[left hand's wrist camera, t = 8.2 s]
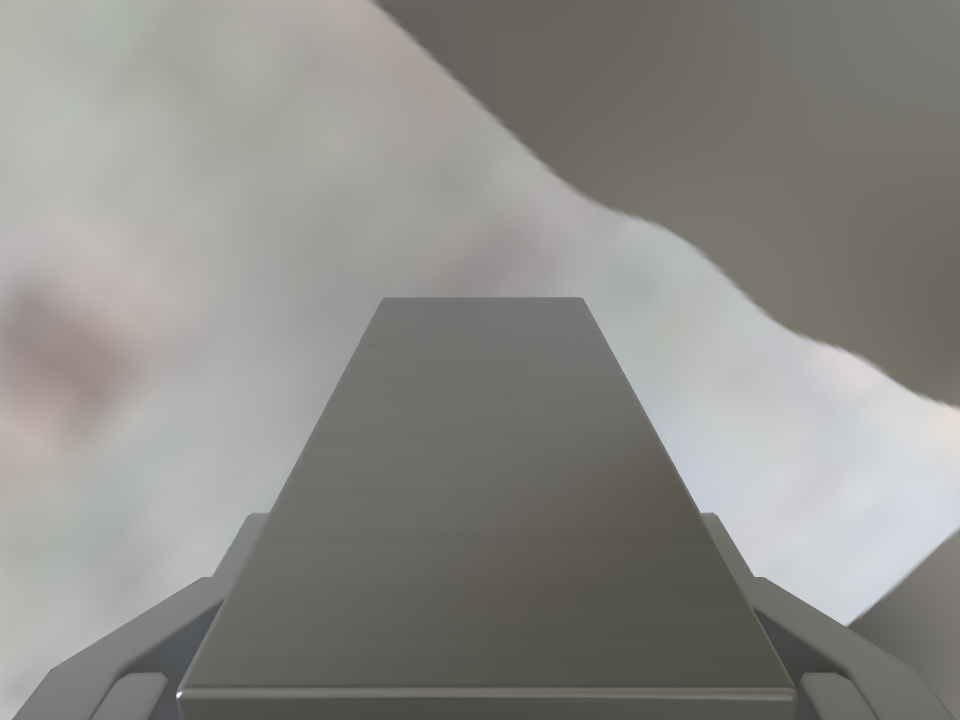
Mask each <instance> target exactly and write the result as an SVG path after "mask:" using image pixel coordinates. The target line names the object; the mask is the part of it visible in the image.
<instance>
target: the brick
mask: <svg viewBox="0 0 960 720" xmlns="http://www.w3.org/2000/svg"><path fill="white" fill-rule="evenodd" d="M176 701H177V706H178V710H179V714H180V718H181V720H793V718H794V714H795V710H796V706H797V702H798V694H797V690H796V687H795V685H794V683H793V681H792V679H791V677H790V676H789V674H788V672H787V670H786V668H785V666H784V665H783V663H782V661H781V659H780V657H779V656H778V654H777V652H776V650H775V648H774V646H773V645H772V643H771V641H770V639H769V637H768V635H767V634H766V632H765V630H764V628H763V626H762V624H761V623H760V621H759V619H758V617H757V615H756V614H755V612H754V610H753V608H752V606H751V604H750V603H749V601H748V599H747V597H746V595H745V593H744V592H743V590H742V588H741V586H740V584H739V583H738V581H737V579H736V577H735V575H734V573H733V572H732V570H731V568H730V566H729V564H728V562H727V561H726V559H725V557H724V555H723V553H722V551H721V550H720V548H719V546H718V544H717V542H716V541H715V539H714V537H713V535H712V533H711V531H710V530H709V528H708V526H707V524H706V522H705V520H704V519H703V517H702V515H701V513H700V511H699V509H698V508H697V506H696V504H695V502H694V500H693V499H692V497H691V495H690V493H689V491H688V489H687V488H686V486H685V484H684V482H683V480H682V478H681V477H680V475H679V473H678V471H677V469H676V468H675V466H674V464H673V462H672V460H671V458H670V457H669V455H668V453H667V451H666V449H665V447H664V446H663V444H662V442H661V440H660V438H659V436H658V435H657V433H656V431H655V429H654V427H653V426H652V424H651V422H650V420H649V418H648V416H647V415H646V413H645V411H644V409H643V407H642V405H641V404H640V402H639V400H638V398H637V396H636V394H635V393H634V391H633V389H632V387H631V385H630V384H629V382H628V380H627V378H626V376H625V374H624V373H623V371H622V369H621V367H620V365H619V363H618V362H617V360H616V358H615V356H614V354H613V353H612V351H611V349H610V347H609V345H608V343H607V342H606V340H605V338H604V336H603V334H602V332H601V331H600V329H599V327H598V325H597V323H596V321H595V320H594V318H593V316H592V314H591V312H590V311H589V309H588V307H587V305H586V303H585V301H584V300H583V299H582V298H383V299H382V301H381V302H380V304H379V306H378V308H377V310H376V312H375V314H374V316H373V318H372V320H371V321H370V323H369V325H368V327H367V329H366V331H365V333H364V335H363V337H362V339H361V341H360V342H359V344H358V346H357V348H356V350H355V352H354V354H353V356H352V358H351V360H350V361H349V363H348V365H347V367H346V369H345V371H344V373H343V375H342V377H341V379H340V380H339V382H338V384H337V386H336V388H335V390H334V392H333V394H332V396H331V398H330V399H329V401H328V403H327V405H326V407H325V409H324V411H323V413H322V415H321V417H320V418H319V420H318V422H317V424H316V426H315V428H314V430H313V432H312V434H311V436H310V437H309V439H308V441H307V443H306V445H305V447H304V449H303V451H302V453H301V455H300V456H299V458H298V460H297V462H296V464H295V466H294V468H293V470H292V472H291V474H290V475H289V477H288V479H287V481H286V483H285V485H284V487H283V489H282V491H281V493H280V494H279V496H278V498H277V500H276V502H275V504H274V506H273V508H272V510H271V512H270V513H269V515H268V517H267V519H266V521H265V523H264V525H263V527H262V529H261V531H260V532H259V534H258V536H257V538H256V540H255V542H254V544H253V546H252V548H251V550H250V551H249V553H248V555H247V557H246V559H245V561H244V563H243V565H242V567H241V569H240V570H239V572H238V574H237V576H236V578H235V580H234V582H233V584H232V586H231V588H230V590H229V591H228V593H227V595H226V597H225V599H224V601H223V603H222V605H221V607H220V609H219V610H218V612H217V614H216V616H215V618H214V620H213V622H212V624H211V626H210V628H209V629H208V631H207V633H206V635H205V637H204V639H203V641H202V643H201V645H200V647H199V648H198V650H197V652H196V654H195V656H194V658H193V660H192V662H191V664H190V666H189V667H188V669H187V671H186V673H185V675H184V677H183V679H182V681H181V683H180V685H179V687H178V690H177V694H176Z"/></svg>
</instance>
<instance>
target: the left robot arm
mask: <svg viewBox="0 0 960 720" xmlns="http://www.w3.org/2000/svg"><path fill="white" fill-rule="evenodd" d="M268 515H269V513H252V514H250V515H248V516H247V517H246V519H245V521H244V522H243V524H242V526H241V527H240V529H239V531H238V533H237V534H236V536H235V538H234V539H233V541H232V543H231V545H230V546H229V548H228V550H227V551H226V553H225V555H224V557H223V558H222V560H221V562H220V563H219V565H218V567H217V569H216V570H215V572H214V574H213V575H212V577H202V578H200V579H199V580H197V581H195V582H194V583H192V584H190V585H189V586H187V587H185V588H184V589H182V590H181V591H179V592H177V593H176V594H174V595H172V596H171V597H169V598H167V599H166V600H164V601H163V602H161V603H159V604H158V605H156V606H154V607H153V608H151V609H149V610H148V611H146V612H145V613H143V614H141V615H140V616H138V617H136V618H135V619H133V620H131V621H130V622H128V623H127V624H125V625H123V626H122V627H120V628H118V629H117V630H115V631H113V632H112V633H110V634H109V635H107V636H105V637H104V638H102V639H100V640H99V641H97V642H95V643H94V644H92V645H91V646H89V647H87V648H86V649H84V650H82V651H81V652H79V653H77V654H76V655H74V656H73V657H71V658H69V659H68V660H66V661H64V662H63V663H61V664H59V665H58V666H56V667H55V668H53V669H51V670H50V671H49V673H48V674H47V675H46V677H45V678H44V679H43V680H42V682H41V683H40V684H39V686H38V687H37V688H36V690H35V691H34V692H33V693H32V695H31V696H30V697H29V699H28V700H27V701H26V702H25V704H24V705H23V706H22V708H21V709H20V710H19V711H18V713H17V714H16V715H15V717H14V718H13V719H12V720H181V718H180V714H179V710H178V706H177V701H176V694H177V690H178V687H179V685H180V683H181V681H182V679H183V677H184V675H185V673H186V671H187V669H188V667H189V666H190V664H191V662H192V660H193V658H194V656H195V654H196V652H197V650H198V648H199V647H200V645H201V643H202V641H203V639H204V637H205V635H206V633H207V631H208V629H209V628H210V626H211V624H212V622H213V620H214V618H215V616H216V614H217V612H218V610H219V609H220V607H221V605H222V603H223V601H224V599H225V597H226V595H227V593H228V591H229V590H230V588H231V586H232V584H233V582H234V580H235V578H236V576H237V574H238V572H239V570H240V569H241V567H242V565H243V563H244V561H245V559H246V557H247V555H248V553H249V551H250V550H251V548H252V546H253V544H254V542H255V540H256V538H257V536H258V534H259V532H260V531H261V529H262V527H263V525H264V523H265V521H266V519H267V517H268ZM701 515H702V517H703V519H704V520H705V522H706V524H707V526H708V528H709V530H710V531H711V533H712V535H713V537H714V539H715V541H716V542H717V544H718V546H719V548H720V550H721V551H722V553H723V555H724V557H725V559H726V561H727V562H728V564H729V566H730V568H731V570H732V572H733V573H734V575H735V577H736V579H737V581H738V583H739V584H740V586H741V588H742V590H743V592H744V593H745V595H746V597H747V599H748V601H749V603H750V604H751V606H752V608H753V610H754V612H755V614H756V615H757V617H758V619H759V621H760V623H761V624H762V626H763V628H764V630H765V632H766V634H767V635H768V637H769V639H770V641H771V643H772V645H773V646H774V648H775V650H776V652H777V654H778V656H779V657H780V659H781V661H782V663H783V665H784V666H785V668H786V670H787V672H788V674H789V676H790V677H791V679H792V681H793V683H794V685H795V687H796V690H797V694H798V702H797V706H796V710H795V714H794V718H793V720H956V719H955V718H954V716H953V715H952V714H951V712H950V711H949V710H948V709H947V707H946V706H945V705H944V703H943V702H942V701H941V700H940V698H939V697H938V696H937V695H936V693H935V692H934V691H933V689H932V688H931V687H930V686H929V684H928V683H927V682H926V681H925V679H924V678H923V677H922V675H921V674H920V673H919V672H918V671H917V670H916V669H914V668H912V667H911V666H909V665H907V664H906V663H904V662H903V661H901V660H899V659H898V658H896V657H894V656H893V655H891V654H889V653H888V652H886V651H884V650H883V649H881V648H879V647H878V646H876V645H875V644H873V643H871V642H870V641H868V640H866V639H865V638H863V637H861V636H860V635H858V634H856V633H855V632H853V631H851V630H850V629H848V628H847V627H845V626H843V625H842V624H840V623H838V622H837V621H835V620H833V619H832V618H830V617H828V616H827V615H825V614H824V613H822V612H820V611H819V610H817V609H815V608H814V607H812V606H810V605H809V604H807V603H805V602H804V601H802V600H801V599H799V598H797V597H796V596H794V595H792V594H791V593H789V592H787V591H786V590H784V589H782V588H781V587H779V586H777V585H776V584H774V583H773V582H771V581H769V580H768V579H766V578H764V577H754V575H753V574H752V572H751V570H750V569H749V567H748V565H747V564H746V562H745V560H744V559H743V557H742V555H741V554H740V552H739V550H738V549H737V547H736V546H735V544H734V542H733V541H732V539H731V537H730V536H729V534H728V532H727V531H726V529H725V527H724V526H723V524H722V522H721V521H720V519H719V517H718V516H717V515H716V514H714V513H701Z"/></svg>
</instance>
